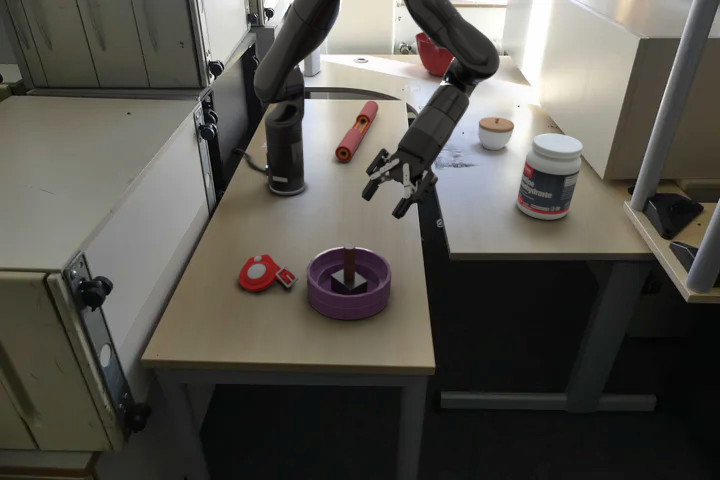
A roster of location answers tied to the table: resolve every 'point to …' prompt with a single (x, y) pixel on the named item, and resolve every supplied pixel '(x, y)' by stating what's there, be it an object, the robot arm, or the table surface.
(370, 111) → the blood vessel
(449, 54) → the mixing bowl
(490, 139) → the trinket box
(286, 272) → the tracker holder
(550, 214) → the supplement tub
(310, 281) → the bowl
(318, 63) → the photo printer
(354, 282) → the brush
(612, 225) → the table surface
